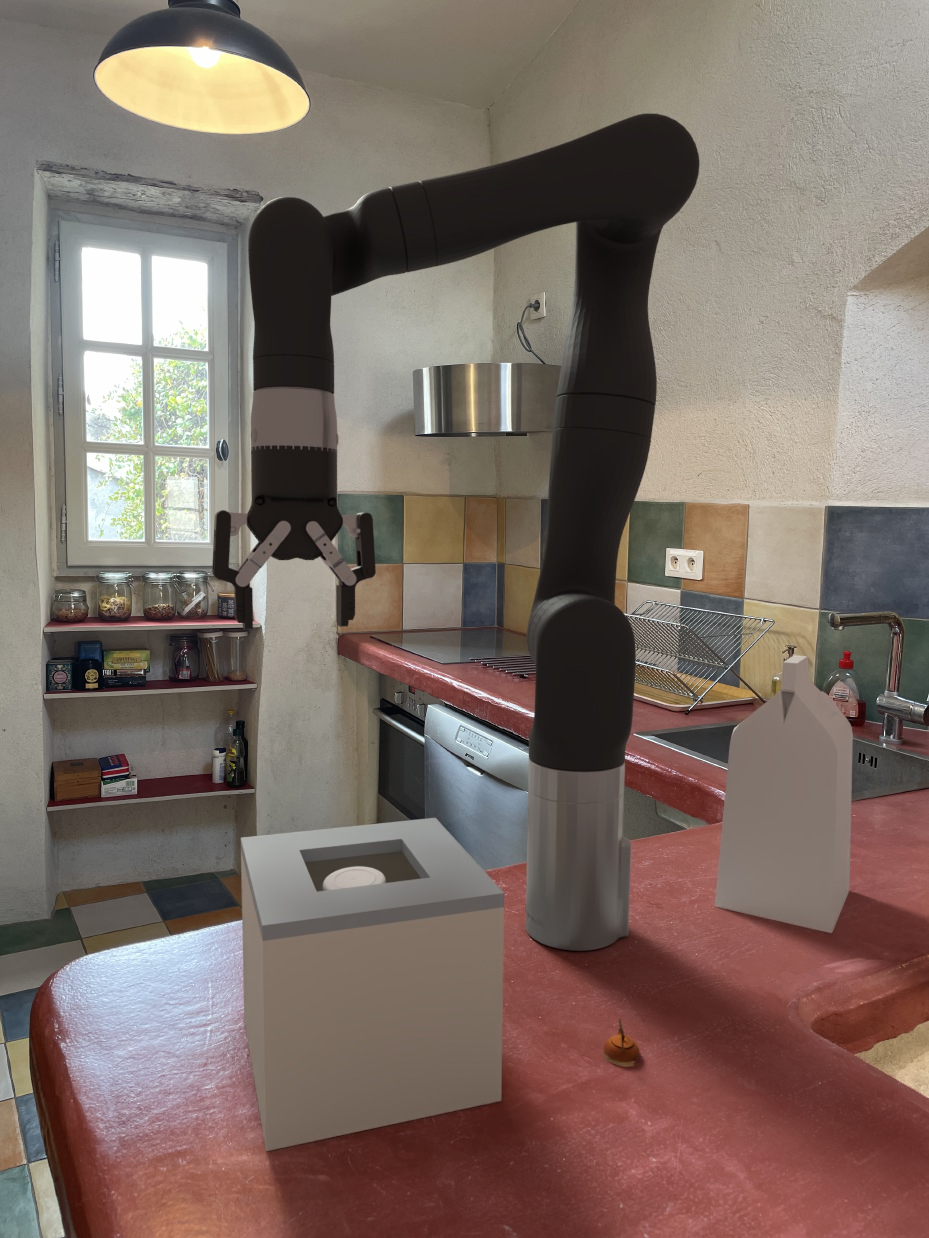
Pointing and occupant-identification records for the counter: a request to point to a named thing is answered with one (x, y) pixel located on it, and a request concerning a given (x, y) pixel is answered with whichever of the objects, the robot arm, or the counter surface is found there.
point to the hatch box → (369, 979)
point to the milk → (788, 808)
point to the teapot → (621, 1049)
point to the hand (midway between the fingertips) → (295, 627)
